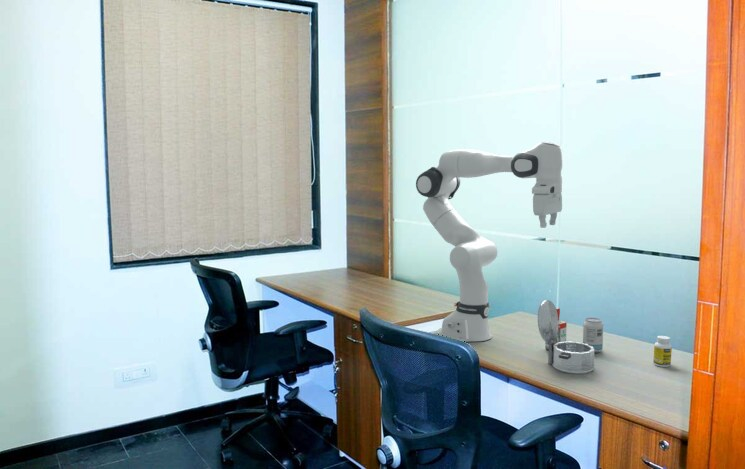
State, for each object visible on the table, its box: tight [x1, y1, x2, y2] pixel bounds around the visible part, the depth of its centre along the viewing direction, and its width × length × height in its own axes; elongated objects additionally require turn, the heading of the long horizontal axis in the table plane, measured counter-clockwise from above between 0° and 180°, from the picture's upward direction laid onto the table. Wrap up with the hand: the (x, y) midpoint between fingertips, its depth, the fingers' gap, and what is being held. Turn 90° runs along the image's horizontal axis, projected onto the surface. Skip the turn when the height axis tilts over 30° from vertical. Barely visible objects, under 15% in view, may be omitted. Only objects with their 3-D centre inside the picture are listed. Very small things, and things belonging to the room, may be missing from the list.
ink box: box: [544, 308, 568, 351], centre depth 224 cm, size 4×8×15 cm, turn 123°
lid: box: [537, 299, 558, 345], centre depth 209 cm, size 15×15×4 cm
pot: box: [547, 340, 595, 375], centre depth 205 cm, size 15×17×7 cm
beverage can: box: [582, 317, 604, 354], centre depth 220 cm, size 7×7×12 cm
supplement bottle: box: [652, 335, 673, 368], centre depth 205 cm, size 5×5×10 cm
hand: (547, 226), depth 215 cm, fingers open, 8 cm apart
